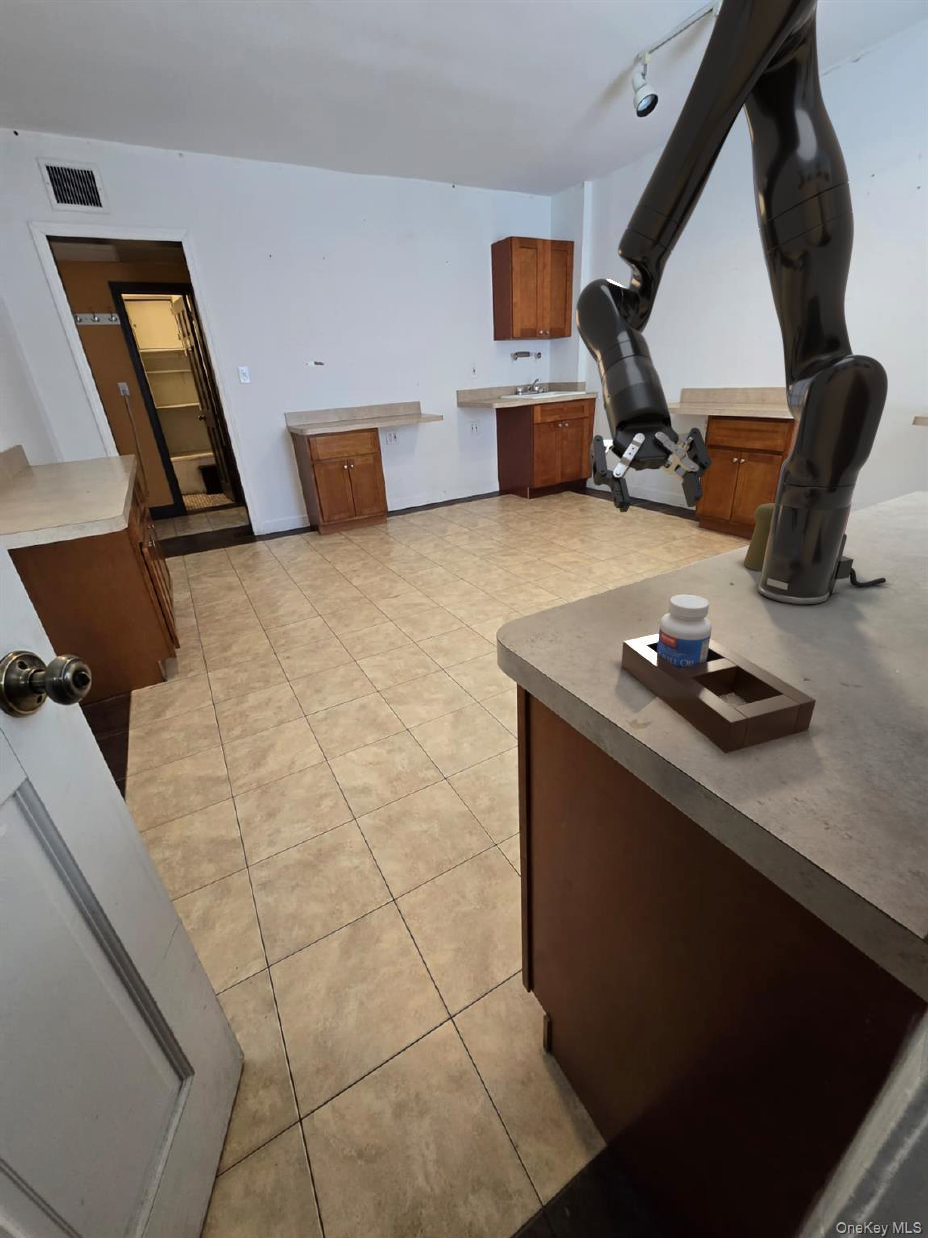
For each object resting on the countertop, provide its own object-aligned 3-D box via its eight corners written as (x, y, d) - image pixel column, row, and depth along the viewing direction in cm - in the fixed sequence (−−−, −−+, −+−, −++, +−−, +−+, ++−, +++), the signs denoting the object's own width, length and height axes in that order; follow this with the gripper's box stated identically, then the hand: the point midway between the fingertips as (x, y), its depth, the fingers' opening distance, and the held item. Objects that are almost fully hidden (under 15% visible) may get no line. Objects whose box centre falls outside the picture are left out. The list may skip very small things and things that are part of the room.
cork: (786, 571, 89) (800, 508, 84) (748, 571, 90) (759, 508, 85) (775, 560, 94) (786, 500, 89) (739, 560, 95) (749, 500, 91)
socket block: (688, 651, 66) (691, 626, 64) (808, 730, 50) (816, 700, 49) (621, 666, 64) (622, 641, 62) (725, 753, 48) (731, 722, 47)
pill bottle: (647, 680, 60) (654, 604, 56) (662, 661, 64) (670, 588, 60) (696, 693, 57) (707, 614, 53) (709, 672, 61) (721, 596, 57)
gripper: (587, 384, 65) (610, 493, 59) (698, 376, 65) (732, 483, 59) (576, 426, 72) (595, 526, 66) (676, 418, 72) (704, 518, 66)
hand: (660, 506), depth 63 cm, fingers open, 8 cm apart
